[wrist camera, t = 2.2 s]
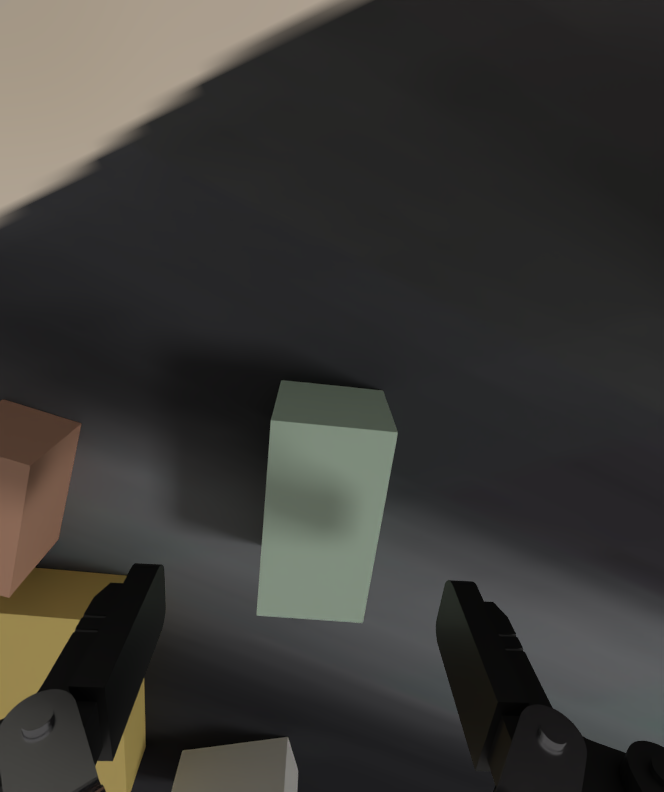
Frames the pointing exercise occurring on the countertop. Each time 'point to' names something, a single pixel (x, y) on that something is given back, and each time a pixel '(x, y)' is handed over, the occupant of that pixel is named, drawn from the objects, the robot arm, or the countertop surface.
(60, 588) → the mustard base brick
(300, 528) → the sage brick
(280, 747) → the cream brick
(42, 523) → the rust brick
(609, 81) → the countertop surface
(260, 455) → the countertop surface
